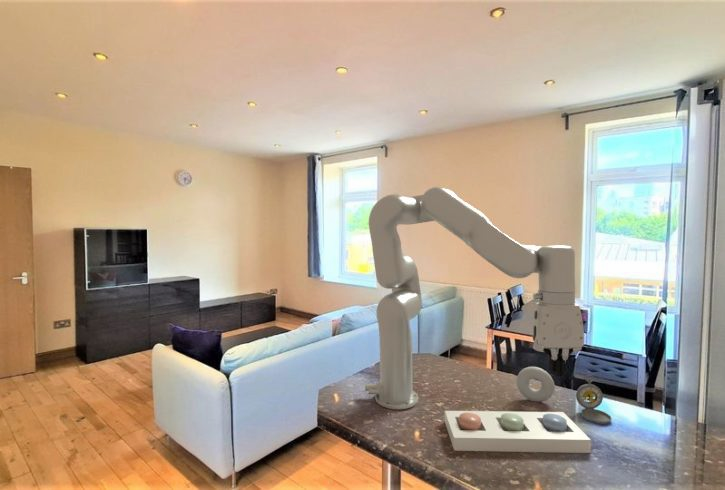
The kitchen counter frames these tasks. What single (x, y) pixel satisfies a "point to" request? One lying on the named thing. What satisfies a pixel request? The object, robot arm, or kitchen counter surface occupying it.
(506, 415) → the sage button
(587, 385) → the pocket watch
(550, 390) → the donut
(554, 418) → the slate button
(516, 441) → the console
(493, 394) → the kitchen counter surface
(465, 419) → the terracotta button
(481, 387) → the kitchen counter surface
